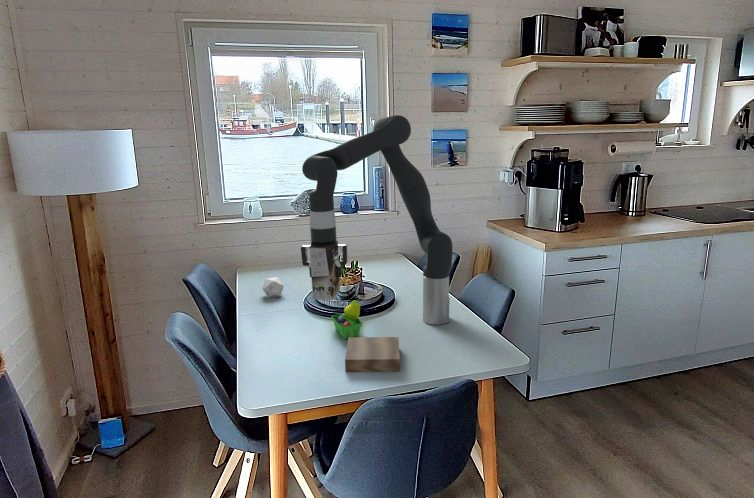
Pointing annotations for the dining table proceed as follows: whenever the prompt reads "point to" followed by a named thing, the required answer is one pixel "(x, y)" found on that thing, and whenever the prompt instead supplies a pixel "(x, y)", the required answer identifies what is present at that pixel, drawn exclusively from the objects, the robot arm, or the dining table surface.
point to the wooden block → (372, 354)
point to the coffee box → (324, 272)
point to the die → (273, 287)
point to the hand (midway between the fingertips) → (325, 278)
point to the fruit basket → (348, 321)
